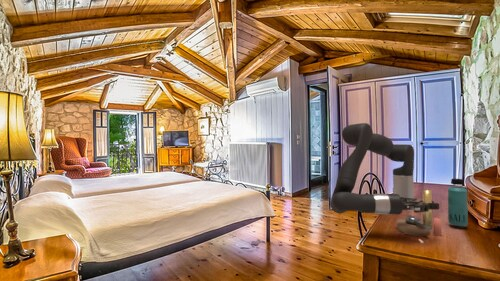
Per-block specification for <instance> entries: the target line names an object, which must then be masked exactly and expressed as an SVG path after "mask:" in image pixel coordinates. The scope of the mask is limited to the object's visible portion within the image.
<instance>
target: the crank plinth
mask: <svg viewBox="0 0 500 281" xmlns="http://www.w3.org/2000/svg"><path fill="white" fill-rule="evenodd" d="M421 221H422V222H423V220H421ZM396 230H397V231H399V232H401V233H403V234H407V235H409V236H414V237H415V236H416V237H417V236H419V237H424V236H429V235H430V234H431V233H430V230H431V229H430V230H427V229H425V228H423V227H421V226H419V225H415V224H409V223H406V222H405V218H400V219H397V221H396Z"/></svg>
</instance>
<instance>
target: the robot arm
mask: <svg viewBox="0 0 500 281" xmlns="http://www.w3.org/2000/svg"><path fill="white" fill-rule="evenodd" d="M341 136H342V137H341V138H342V139H343V141H344V143H346V144H347V145H349V146H354V147H355V148H354V150H352V153H350V155H349V156H348V157H347V158H346V159H345V160H344V162H343V163H342V164H341V166H340V168H339V171H338V174H337V178H336V183H335V186H334V189H333V192H332V195H331V198H330V200H329V201H330V202H329V205H330V208H331V209H332V211H333V212H335V213H337V214H344V213H346V212H347V211H354V212H355V211H356V212H357V211H358V212H360V213H364V214H365V213H366V214H379V215H401V214H402V213H403V211H404V210H405V211H406V212H413V213H416V214H418V213H423V212H427V211H429V209H432V210H440V203H438V202H434V200H432V203H426V202H425V203H423V199H418V198H416V197H415V198H414V195H415V194H414V168H415V164H414V163H415V149H414V147H413V145H411V144H394V142H393V141H392V139H391V138H389V137H387V136H386V135H382V134H379V133H374V132H373V128H372V125H370V124H369V123H367V122H366V123H365V122H362V123H354V124H348V125H346V126H345V127H343V129H342V131H341ZM368 151H369V152H372V153H374V154H376V155H379V156H383V157H386V158H387V159H389V160H390V161H392V162H396V163H397V162H398V163H403V164H402V166H399V167H396V168H393V169H392V193H373V194H372V193H360V194H359V193H355V192H353V191H354V190H355V185H356V183H357V178H358V175H359V170H360V169H361V165H362V163H363V160H364V159H365V156H366V155H367V152H368Z"/></svg>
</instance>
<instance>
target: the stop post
mask: <svg viewBox="0 0 500 281" xmlns="http://www.w3.org/2000/svg"><path fill="white" fill-rule="evenodd" d="M432 225H433V235H434V236H436V237H441V236H442V219H441V218H438V217H434V218H433V217H432Z"/></svg>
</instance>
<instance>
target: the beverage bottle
mask: <svg viewBox="0 0 500 281" xmlns="http://www.w3.org/2000/svg"><path fill="white" fill-rule="evenodd" d="M450 180H451V181H450V184H451V186H450V187H448V188H447V192H448V193H447V204H448V205H447V207H448V209H447V215H448V216H447V220H448V221H447V222H448V223H449V224H451V225H452V226H453V225H454V226H456V227H467V226H468V224H469V217H468V216H469V215H468V213H469V212H468V211H469V209H468V189H466V188H465V187H463V186H464V185H465V182H464V179H462V178H451V179H450ZM455 185H457V186H455Z"/></svg>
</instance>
